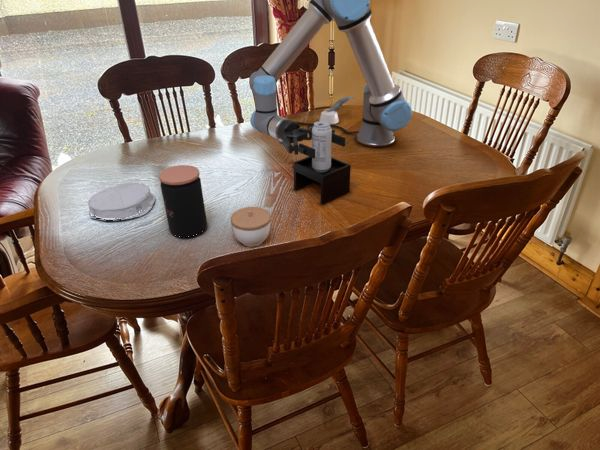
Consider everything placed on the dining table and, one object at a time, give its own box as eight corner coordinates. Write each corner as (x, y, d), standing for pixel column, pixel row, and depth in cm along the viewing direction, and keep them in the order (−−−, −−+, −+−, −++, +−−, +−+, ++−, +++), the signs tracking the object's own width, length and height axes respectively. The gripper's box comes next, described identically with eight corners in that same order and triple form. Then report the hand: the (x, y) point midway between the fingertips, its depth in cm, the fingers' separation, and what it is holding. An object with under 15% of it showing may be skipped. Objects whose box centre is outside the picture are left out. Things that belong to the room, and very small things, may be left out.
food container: (118, 230, 130) (112, 210, 126) (75, 213, 139) (69, 193, 136) (169, 201, 144) (165, 182, 141) (127, 187, 153) (122, 168, 150)
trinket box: (277, 233, 127) (276, 204, 122) (262, 254, 119) (260, 224, 114) (243, 227, 130) (240, 199, 125) (226, 247, 122) (222, 218, 117)
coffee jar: (173, 221, 134) (162, 165, 125) (209, 219, 135) (201, 163, 125) (167, 241, 125) (155, 183, 116) (206, 238, 126) (197, 181, 116)
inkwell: (315, 120, 207) (315, 98, 202) (346, 113, 215) (347, 92, 209) (326, 126, 200) (326, 103, 195) (358, 118, 208) (359, 97, 203)
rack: (293, 189, 150) (293, 162, 144) (320, 178, 156) (320, 152, 151) (323, 204, 141) (323, 176, 136) (349, 192, 147) (350, 165, 142)
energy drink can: (334, 168, 144) (335, 123, 136) (322, 174, 141) (322, 128, 133) (320, 163, 148) (320, 119, 140) (308, 169, 144) (307, 124, 136)
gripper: (311, 131, 160) (356, 148, 146) (256, 150, 147) (300, 171, 133) (311, 110, 156) (357, 126, 142) (254, 128, 143) (299, 147, 129)
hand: (330, 148), depth 138 cm, fingers open, 12 cm apart
